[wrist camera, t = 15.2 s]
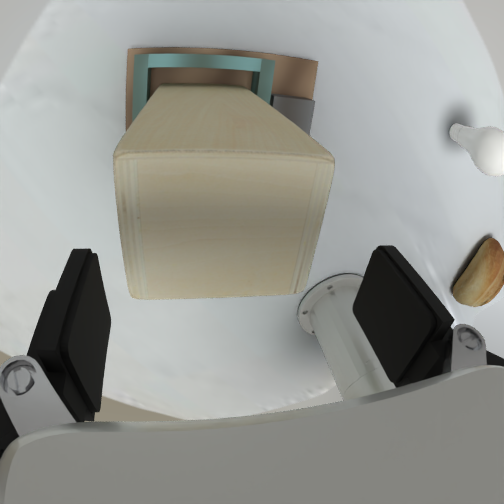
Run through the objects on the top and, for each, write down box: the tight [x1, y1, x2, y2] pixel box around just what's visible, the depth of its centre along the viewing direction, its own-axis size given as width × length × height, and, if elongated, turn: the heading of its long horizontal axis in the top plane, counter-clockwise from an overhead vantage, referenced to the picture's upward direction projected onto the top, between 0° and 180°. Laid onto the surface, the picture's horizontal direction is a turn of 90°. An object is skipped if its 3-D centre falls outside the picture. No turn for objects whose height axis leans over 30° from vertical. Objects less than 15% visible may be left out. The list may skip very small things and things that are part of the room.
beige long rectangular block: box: [113, 83, 335, 300], centre depth 21 cm, size 8×7×21 cm
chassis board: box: [126, 47, 318, 135], centre depth 29 cm, size 18×14×4 cm
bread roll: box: [453, 238, 504, 307], centre depth 50 cm, size 10×15×8 cm, turn 166°
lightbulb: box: [449, 123, 504, 177], centre depth 31 cm, size 6×6×11 cm
